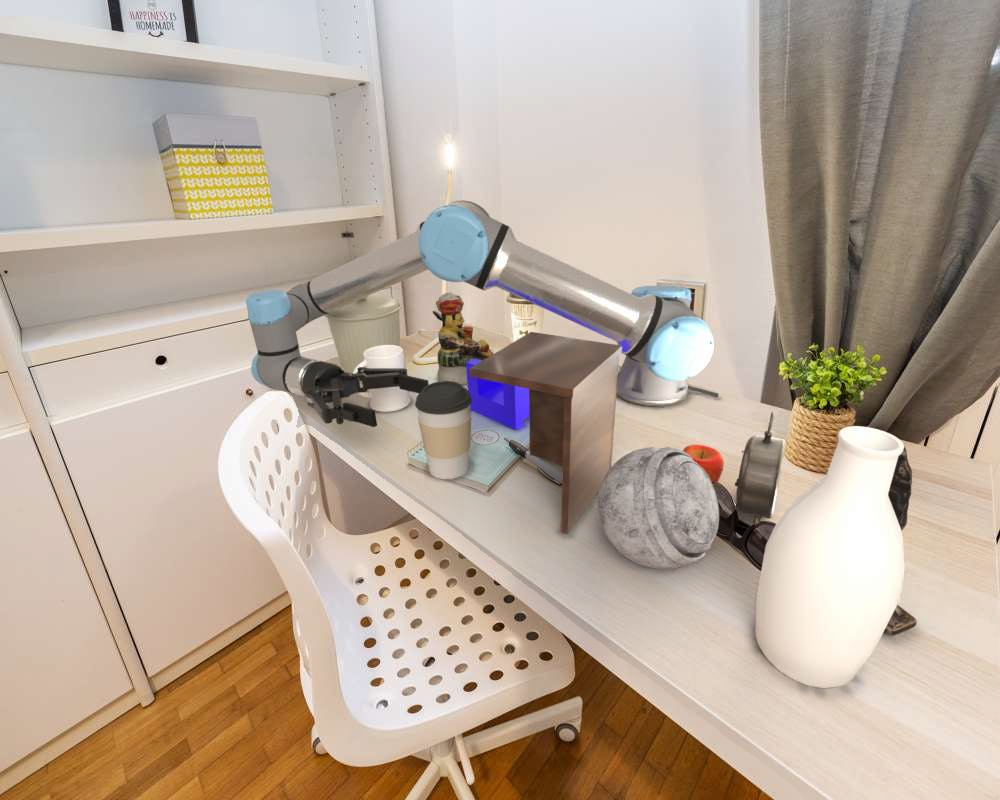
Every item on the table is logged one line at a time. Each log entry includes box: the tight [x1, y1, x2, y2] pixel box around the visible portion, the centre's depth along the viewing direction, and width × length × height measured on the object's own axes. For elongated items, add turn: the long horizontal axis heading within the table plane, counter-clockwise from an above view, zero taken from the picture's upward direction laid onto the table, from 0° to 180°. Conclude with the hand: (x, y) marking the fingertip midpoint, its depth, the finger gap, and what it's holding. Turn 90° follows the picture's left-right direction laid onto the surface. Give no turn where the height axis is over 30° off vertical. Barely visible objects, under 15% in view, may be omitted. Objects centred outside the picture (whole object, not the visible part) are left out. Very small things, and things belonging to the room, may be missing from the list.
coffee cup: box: [414, 381, 472, 480], centre depth 84 cm, size 9×9×15 cm
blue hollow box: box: [466, 359, 529, 431], centre depth 107 cm, size 21×14×10 cm, turn 134°
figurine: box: [432, 292, 494, 386], centre depth 119 cm, size 12×15×20 cm
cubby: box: [469, 331, 622, 535], centre depth 76 cm, size 15×18×22 cm
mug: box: [353, 345, 411, 413], centre depth 108 cm, size 12×8×12 cm
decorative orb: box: [597, 446, 720, 570], centre depth 64 cm, size 15×14×15 cm
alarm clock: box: [734, 411, 786, 525], centre depth 71 cm, size 11×5×16 cm, turn 148°
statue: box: [884, 446, 918, 636], centre depth 53 cm, size 4×7×20 cm, turn 22°
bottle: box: [754, 425, 906, 689], centre depth 48 cm, size 11×11×25 cm
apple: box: [682, 444, 725, 484], centre depth 77 cm, size 6×6×8 cm
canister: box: [323, 294, 403, 373], centre depth 123 cm, size 18×18×21 cm
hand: (402, 402), depth 87 cm, fingers open, 13 cm apart
